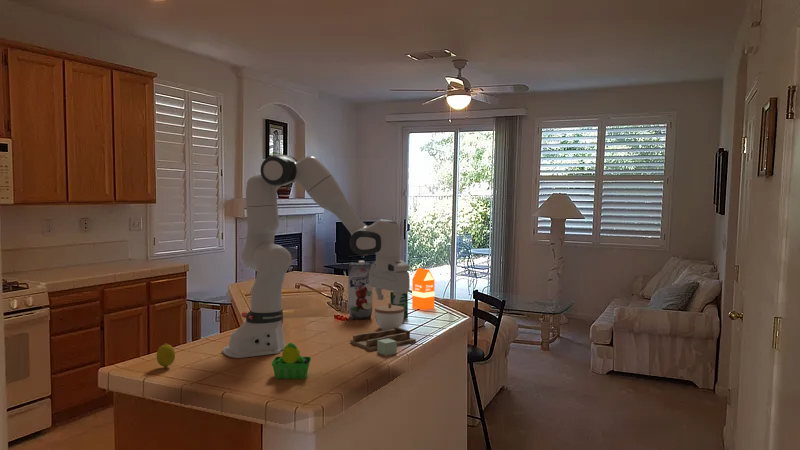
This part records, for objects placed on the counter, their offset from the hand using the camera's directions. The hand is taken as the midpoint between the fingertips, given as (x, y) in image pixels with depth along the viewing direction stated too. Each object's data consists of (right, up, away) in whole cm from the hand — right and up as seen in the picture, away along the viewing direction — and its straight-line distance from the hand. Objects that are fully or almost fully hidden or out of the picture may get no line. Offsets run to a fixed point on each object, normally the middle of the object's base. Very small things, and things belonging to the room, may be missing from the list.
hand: (388, 301), depth 198 cm
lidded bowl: (0, -17, +35) cm, 39 cm away
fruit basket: (-30, -19, -29) cm, 46 cm away
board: (-2, -18, +12) cm, 22 cm away
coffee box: (+4, -16, +55) cm, 57 cm away
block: (0, -18, -2) cm, 18 cm away
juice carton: (-14, -16, +57) cm, 61 cm away
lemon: (-72, -19, -21) cm, 77 cm away
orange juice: (+16, -15, +83) cm, 86 cm away
